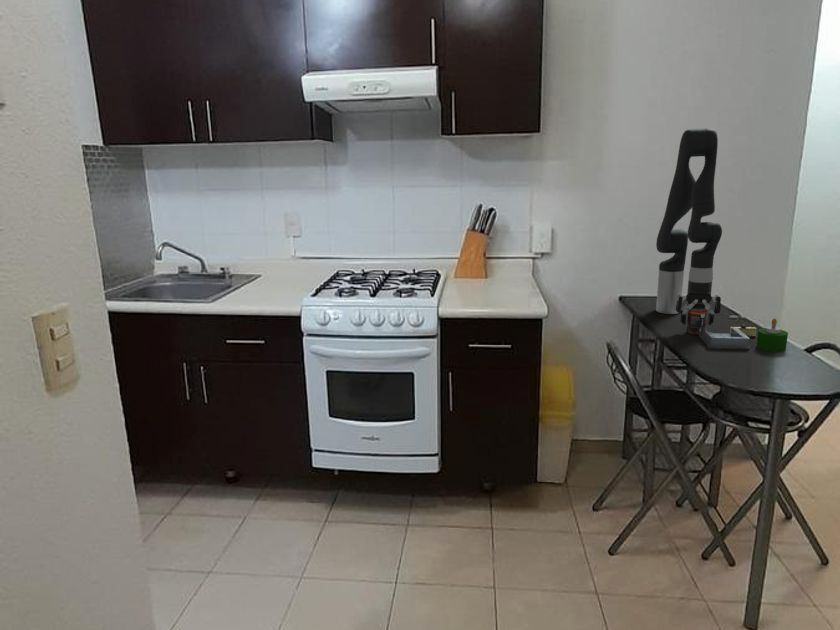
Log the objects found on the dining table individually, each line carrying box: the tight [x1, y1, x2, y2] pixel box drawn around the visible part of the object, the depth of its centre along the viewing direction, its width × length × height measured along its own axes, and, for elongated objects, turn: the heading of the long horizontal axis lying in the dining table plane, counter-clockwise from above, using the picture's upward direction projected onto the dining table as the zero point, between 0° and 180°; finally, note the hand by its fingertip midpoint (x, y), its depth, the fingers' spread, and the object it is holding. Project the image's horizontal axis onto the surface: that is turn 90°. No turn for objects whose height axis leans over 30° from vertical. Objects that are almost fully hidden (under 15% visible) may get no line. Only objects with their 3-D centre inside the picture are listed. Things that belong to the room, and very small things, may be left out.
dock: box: [698, 326, 751, 350], centre depth 197 cm, size 14×12×4 cm
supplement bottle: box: [686, 303, 708, 335], centre depth 208 cm, size 6×6×11 cm
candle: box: [756, 317, 789, 353], centre depth 189 cm, size 8×8×10 cm
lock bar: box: [729, 323, 758, 338], centre depth 203 cm, size 2×8×4 cm, turn 79°
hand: (696, 324), depth 208 cm, fingers open, 8 cm apart
